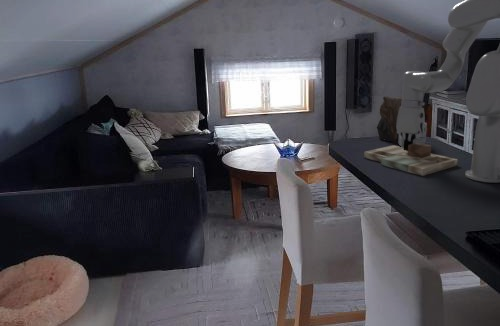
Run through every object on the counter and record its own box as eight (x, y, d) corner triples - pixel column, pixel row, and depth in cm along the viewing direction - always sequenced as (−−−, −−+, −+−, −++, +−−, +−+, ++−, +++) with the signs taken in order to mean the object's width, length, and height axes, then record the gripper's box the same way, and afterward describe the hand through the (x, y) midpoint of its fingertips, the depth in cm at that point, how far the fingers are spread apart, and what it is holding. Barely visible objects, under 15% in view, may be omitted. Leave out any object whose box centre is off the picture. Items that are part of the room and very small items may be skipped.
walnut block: (430, 155, 169) (431, 145, 168) (421, 158, 166) (421, 147, 165) (416, 152, 174) (417, 142, 173) (407, 154, 171) (408, 144, 170)
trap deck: (456, 165, 164) (457, 159, 164) (422, 175, 153) (423, 169, 152) (392, 150, 187) (393, 145, 187) (358, 158, 176) (359, 152, 175)
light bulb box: (421, 144, 198) (423, 120, 196) (425, 147, 192) (427, 123, 189) (397, 144, 200) (398, 120, 197) (400, 147, 193) (402, 123, 190)
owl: (374, 138, 212) (377, 96, 207) (393, 135, 218) (396, 94, 213) (395, 143, 202) (398, 99, 196) (414, 139, 207) (417, 97, 202)
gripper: (434, 105, 165) (430, 152, 170) (401, 101, 177) (398, 145, 182) (422, 107, 161) (418, 155, 166) (389, 102, 173) (386, 148, 178)
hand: (407, 150), depth 174 cm, fingers closed
